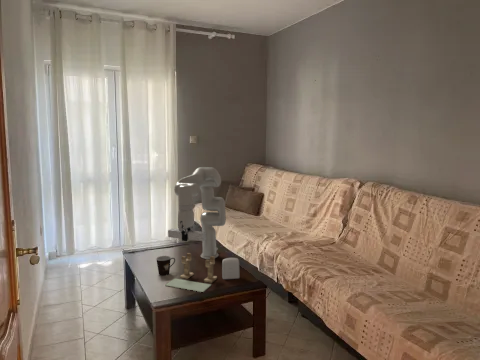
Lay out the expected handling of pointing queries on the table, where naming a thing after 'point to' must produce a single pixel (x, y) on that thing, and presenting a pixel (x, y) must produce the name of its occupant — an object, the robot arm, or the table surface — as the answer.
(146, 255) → the table surface
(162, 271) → the coffee mug
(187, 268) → the forked stand
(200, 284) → the sage mat
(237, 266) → the photo printer
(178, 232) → the steel bar
